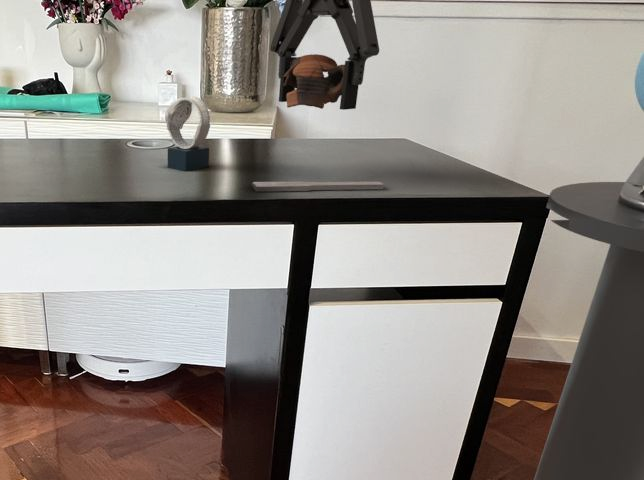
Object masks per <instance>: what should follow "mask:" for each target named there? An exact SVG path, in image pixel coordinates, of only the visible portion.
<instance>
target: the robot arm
mask: <svg viewBox="0 0 644 480" xmlns="http://www.w3.org/2000/svg"><path fill="white" fill-rule="evenodd" d="M351 3H352V5H351ZM320 16H321V17H322V16H325V17H326V16H330V17H331V18H332V19H333V20H334V22H335V24H336V26H337V29H338V31H339V34H340V36H341V39H342V40H343V43H344V45H345V48H346V51H347V54H348V55H349V56H348V57H347V58H346V59H347V60H344V65H345V67H344V76H343V84H342V93H341V96H340V102H339V110H342V111H344V110H345V111H346V110H354V109H355V110H356V109H357V102H358V94H359V86H361V85H362V84H363V81H364V77H365V65H366V61H367V60H368V59H369V58H372V57H376V56H378V55H379V53H380V45H379V40H378V35H377V29H376V28H377V27H376V23H375V17H374V11H373V6H372V0H351V2H350V0H285V2H284V5H283V8H282V11H281V14H280V17H279V19H278V23H277V25H276V29H275V31H274V34H273V38H272V39H271V40H272V41H271V44H270V46H269V49H270V51H271V52H272V53H276V54H277V55H278V57H279V60H278V62H279V63H278V74H277V75H278V79H279V90H278V91H279V94H278V102H279V103H287V97H286V96H287V93H289V92H292V91H293V90H295V89H296V88H293V87H292V86H291V85H287V86H284V83H285V80H286V78H287V77H284V75H285V74H286V72H287V71H288V70H289V69H290V63H291V62H292V61H293V60H294V59H296V58H298V57H299V56H298V57H297V53H296V51H297V49H298V48H299V46H300V45H301V43H302V41H303V40H304V38H305V36H306V34H307V33H308V31H309V29H310V28H311V26H312V25H313V23H314V21H315V20H317V19H318V18H319V17H320ZM634 91H635V96H636V100H637V102H638V104H639V107H640V108H641V110H642V111H643V112H644V51H643V53H642V54H641V57H640V59H639V61H638V63H637V67H636V70H635V76H634ZM624 182H625V184H624V185H623V188H622V189H621V193H620V196H619V199H618V201H619V202H620V203H621V204H623V205H624V206H626V207H629V208H631V209H634V210H637V211H641V212H644V156H643V157H642V158H641V159H640V161H639V162H638V164H637V165H636V166H635V168H634V169H633V171H632V172H631V173H630V174H629V176H628V178H627V179H626V181H624Z"/></svg>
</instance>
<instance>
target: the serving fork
mask: <svg viewBox="0 0 644 480" xmlns="http://www.w3.org/2000/svg"><path fill="white" fill-rule="evenodd" d="M384 186H385V184H384V183H382V182H381V181H309V182H308V181H253V182H252V188H253V190H254V191H255V192H256V193H266V192H268V193H269V192H270V193H271V192H272V193H273V192H275V193H276V192H278V193H279V192H280V193H281V192H311V191H370V190H371V191H372V190H373V191H375V190H384Z"/></svg>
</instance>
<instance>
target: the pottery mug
mask: <svg viewBox="0 0 644 480" xmlns="http://www.w3.org/2000/svg"><path fill="white" fill-rule="evenodd" d="M344 67H345V64H338V63H337V61H336V60H335V59H334V58H332V57H330V56H327V55H323V54H317V53H315V54H312V53H311V54H305V55H301V56H298V58H296V59H294V60H293V61H292V62H291V63H290V69H289V70H288V71H287V72H286V74H285V75H284V77H287V78H286V80H285V83H284V86H287V85H291V86H292V87H293V88H295V90H293V91H292V92H289V93H287V96H286V97H287V102H286V108H292V107H296V106H307V107H314V108H318V109H321V110H323V109H324V107H325V105H327V104H328V103H331V104H335V103H337V102H338V100H339V98H341V93H342V84H343V76H344ZM324 73H327V76H325V74H324Z"/></svg>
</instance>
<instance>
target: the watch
mask: <svg viewBox="0 0 644 480" xmlns="http://www.w3.org/2000/svg"><path fill="white" fill-rule="evenodd" d="M192 106H194V107H195V108H196V110H197V112H198V116H199V121H198V125H197V127H196V130H195V134H194V136H193V138H192V139H191V144H189V143H188V142H186V141H185V139H184V137H183V135H182V133H181V130H182V129H183V127H184V125H185V123H186V122H187V120H189V118H190V116H191V115H192V111H193V107H192ZM164 121H165V122H166V130H167V131H168V133H169V137H170V139H171V140H172V142H173V143H174V144H175V146H173V147H167V168H169V169H175V170H179V171H183V172H187V171H193V170H198V169H204V168H209V165H210V147H208V146H202V145H203V144H204V143H205V141H206V140H207V137H208V135H209V131H210V129H211V124H210V123H211V116H210V112H209V108H208V106H207V104H206V103H205V102H204V100H202V99H201V98H200V97H197V96H190V97H179V98H177V99H175V100H174V101H172V102H171V103H170V105H169V106H168V107H167V109H166V110H165V114H164Z"/></svg>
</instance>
